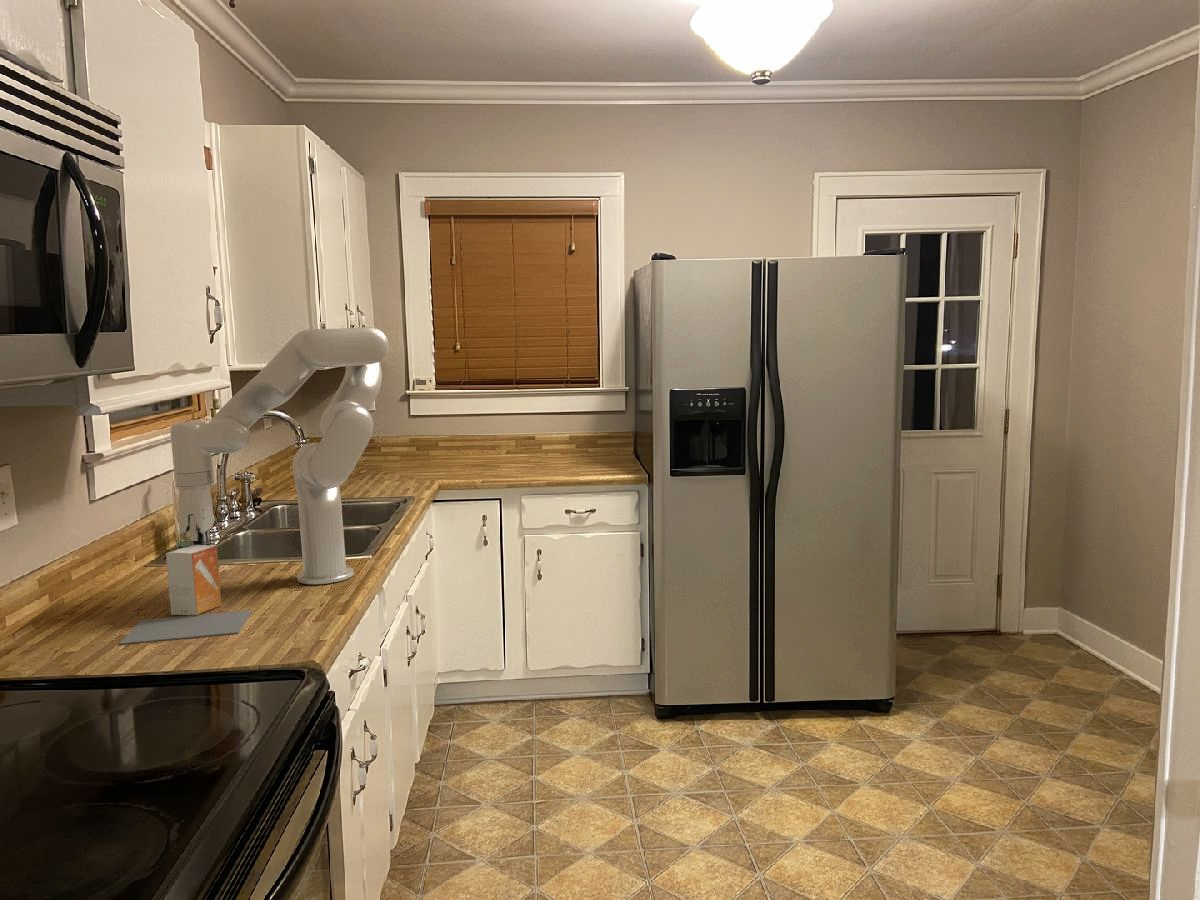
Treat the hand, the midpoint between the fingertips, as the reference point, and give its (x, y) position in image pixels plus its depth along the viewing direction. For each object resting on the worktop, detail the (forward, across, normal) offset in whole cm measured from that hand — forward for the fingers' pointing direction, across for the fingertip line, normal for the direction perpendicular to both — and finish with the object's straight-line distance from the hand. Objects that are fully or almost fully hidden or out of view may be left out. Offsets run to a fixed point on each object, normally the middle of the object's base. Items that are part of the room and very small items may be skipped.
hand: (202, 562), depth 191 cm
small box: (+8, +8, 0) cm, 12 cm away
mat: (+8, +19, +1) cm, 21 cm away
